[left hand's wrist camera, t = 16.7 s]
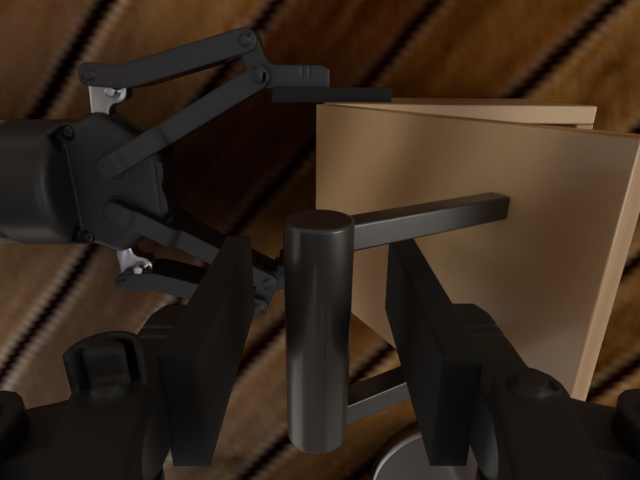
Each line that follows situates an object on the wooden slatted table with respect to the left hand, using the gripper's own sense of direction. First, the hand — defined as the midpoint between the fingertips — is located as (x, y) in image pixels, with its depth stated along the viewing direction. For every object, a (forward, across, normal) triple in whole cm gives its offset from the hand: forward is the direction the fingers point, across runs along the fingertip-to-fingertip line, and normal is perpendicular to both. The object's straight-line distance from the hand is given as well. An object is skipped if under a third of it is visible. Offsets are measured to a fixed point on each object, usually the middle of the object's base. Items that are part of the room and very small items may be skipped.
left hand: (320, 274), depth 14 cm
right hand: (+13, -4, 0) cm, 13 cm away
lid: (+3, -4, 0) cm, 5 cm away
